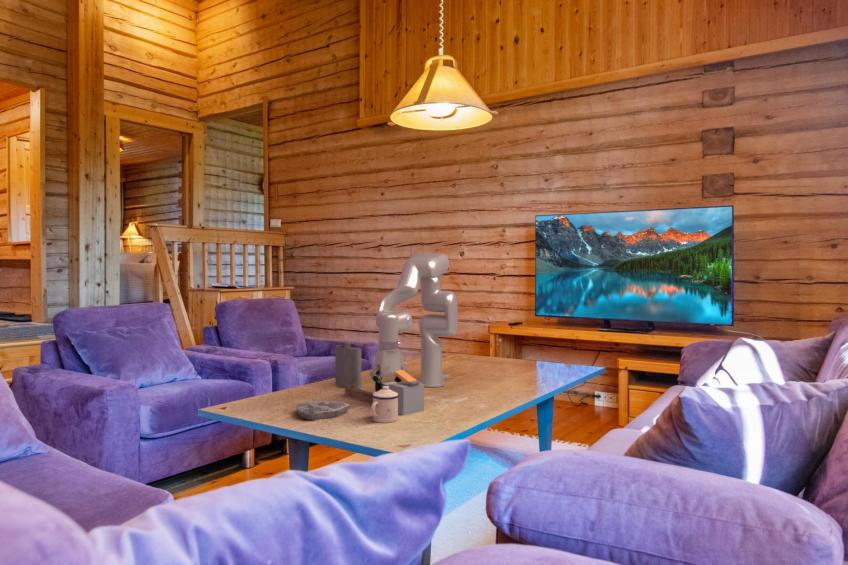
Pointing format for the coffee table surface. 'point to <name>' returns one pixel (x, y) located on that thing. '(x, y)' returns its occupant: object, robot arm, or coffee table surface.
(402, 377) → the lever
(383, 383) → the block
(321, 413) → the brain slice
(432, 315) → the robot arm
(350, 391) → the rail
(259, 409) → the coffee table surface
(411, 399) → the cabinet
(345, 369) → the hip flask
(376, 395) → the teacup with lid
